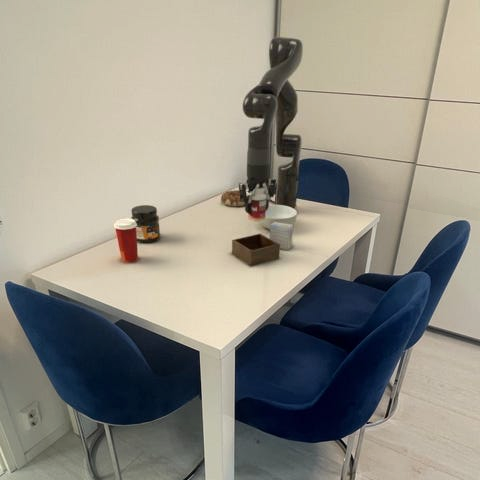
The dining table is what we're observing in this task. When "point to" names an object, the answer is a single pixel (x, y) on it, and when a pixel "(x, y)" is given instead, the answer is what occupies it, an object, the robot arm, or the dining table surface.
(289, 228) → the medicine box
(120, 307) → the dining table surface
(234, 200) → the donut
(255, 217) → the pill bottle
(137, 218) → the supplement container
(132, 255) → the paper cup
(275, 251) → the crate
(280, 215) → the cereal bowl
